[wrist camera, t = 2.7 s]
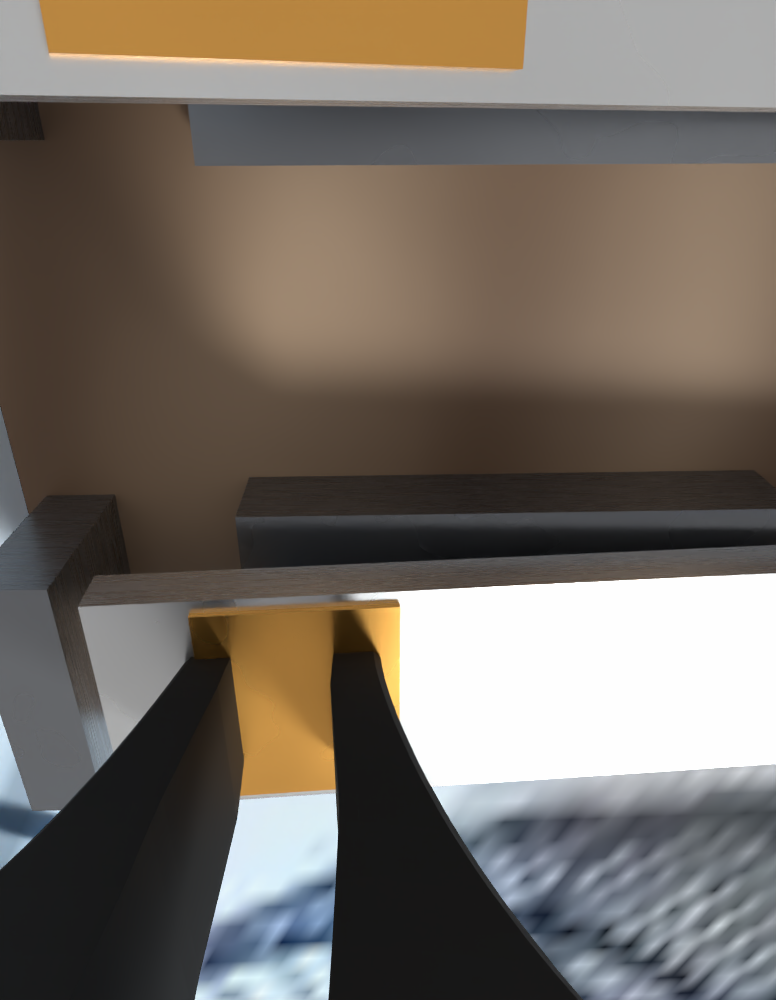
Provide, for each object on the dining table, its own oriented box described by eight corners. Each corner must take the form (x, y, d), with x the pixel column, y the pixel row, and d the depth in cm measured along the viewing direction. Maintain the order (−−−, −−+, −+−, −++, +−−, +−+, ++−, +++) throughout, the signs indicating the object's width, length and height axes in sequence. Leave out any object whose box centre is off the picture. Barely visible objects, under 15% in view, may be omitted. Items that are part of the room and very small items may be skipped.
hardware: (1300, -406, 8) (1776, -687, 5) (862, 707, 15) (967, 827, 13) (-181, -426, 8) (-482, -740, 5) (102, 723, 15) (45, 850, 12)
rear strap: (999, 532, 12) (1054, 563, 11) (917, 715, 13) (960, 756, 13) (96, 571, 11) (75, 611, 10) (139, 764, 12) (125, 812, 12)
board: (1253, -305, 9) (1402, -379, 8) (879, 654, 17) (924, 699, 15) (-126, -319, 9) (-212, -399, 8) (105, 669, 16) (82, 717, 15)
